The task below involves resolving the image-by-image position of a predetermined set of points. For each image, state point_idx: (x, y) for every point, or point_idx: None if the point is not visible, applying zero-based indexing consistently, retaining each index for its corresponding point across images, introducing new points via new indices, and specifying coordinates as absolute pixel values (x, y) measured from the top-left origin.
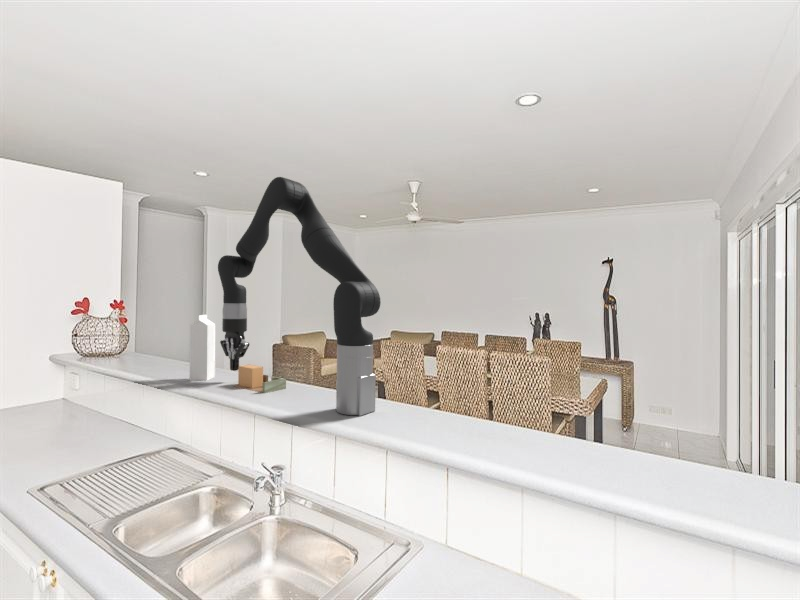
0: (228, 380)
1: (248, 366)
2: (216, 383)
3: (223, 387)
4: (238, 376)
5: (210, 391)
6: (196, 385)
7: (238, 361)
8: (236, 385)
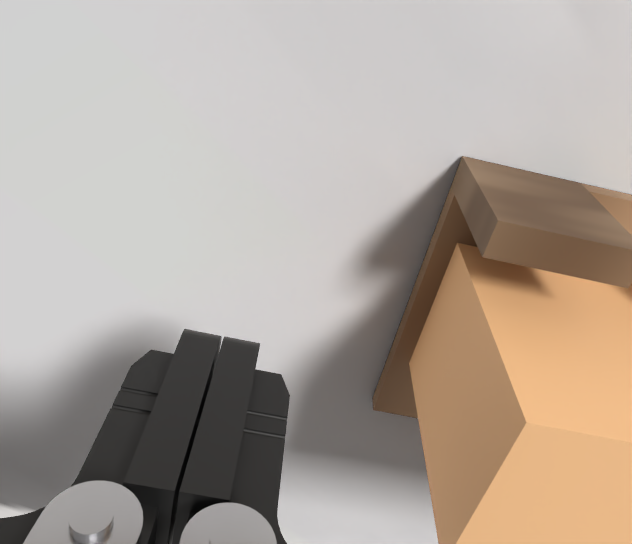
0: (20, 145)
1: (621, 542)
2: (76, 327)
3: (297, 420)
4: (421, 436)
5: (318, 534)
6: (16, 446)
7: (276, 485)
8: (406, 385)
